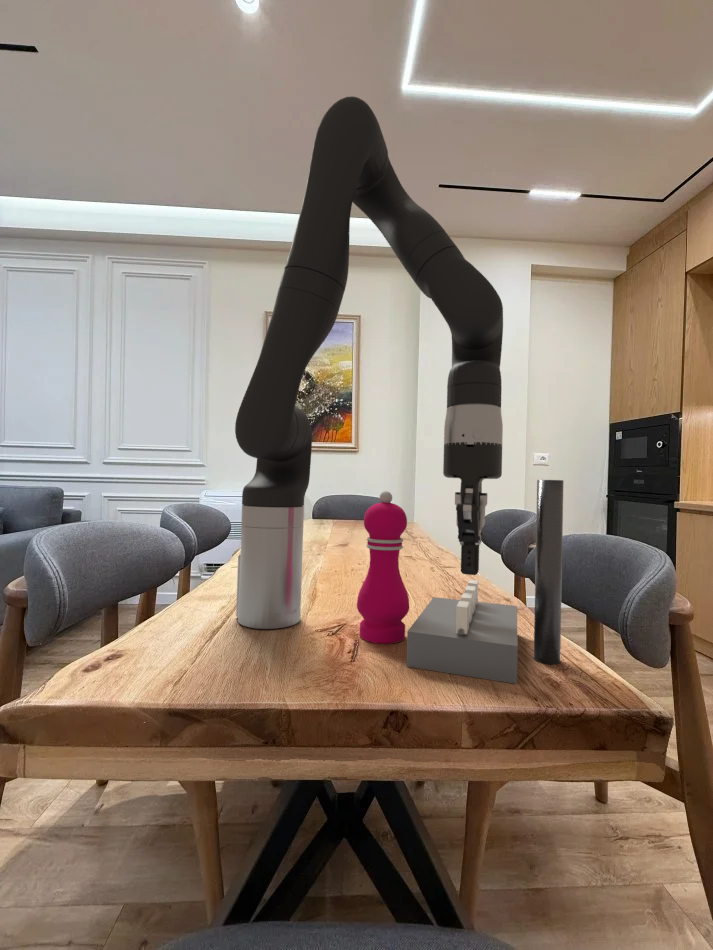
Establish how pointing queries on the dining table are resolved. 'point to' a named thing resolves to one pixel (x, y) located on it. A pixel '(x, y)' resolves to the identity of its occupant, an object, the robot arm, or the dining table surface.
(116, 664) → the dining table surface
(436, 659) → the breaker panel
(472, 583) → the breaker paddles
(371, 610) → the pepper mill
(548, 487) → the black cord post
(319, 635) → the dining table surface
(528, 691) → the dining table surface
